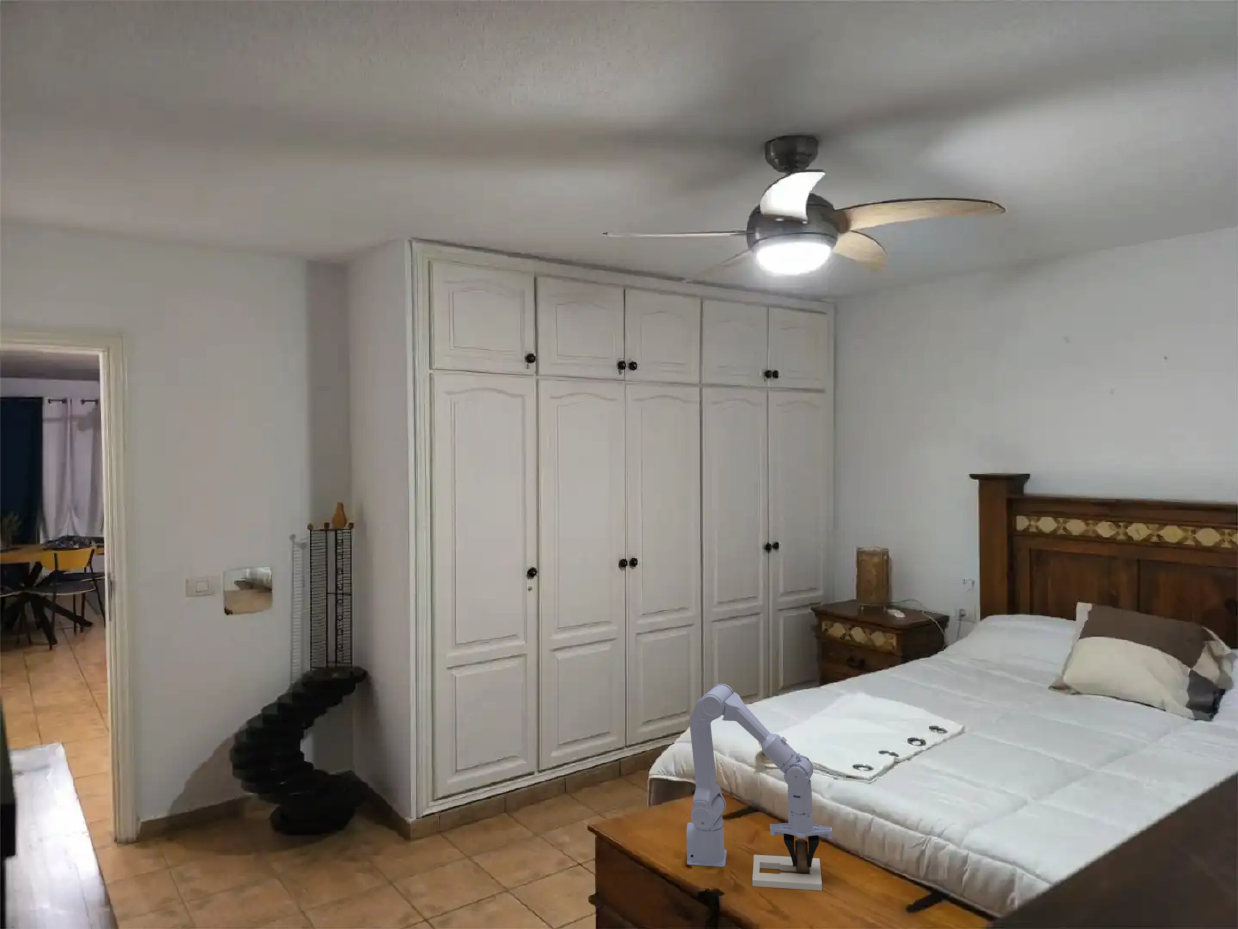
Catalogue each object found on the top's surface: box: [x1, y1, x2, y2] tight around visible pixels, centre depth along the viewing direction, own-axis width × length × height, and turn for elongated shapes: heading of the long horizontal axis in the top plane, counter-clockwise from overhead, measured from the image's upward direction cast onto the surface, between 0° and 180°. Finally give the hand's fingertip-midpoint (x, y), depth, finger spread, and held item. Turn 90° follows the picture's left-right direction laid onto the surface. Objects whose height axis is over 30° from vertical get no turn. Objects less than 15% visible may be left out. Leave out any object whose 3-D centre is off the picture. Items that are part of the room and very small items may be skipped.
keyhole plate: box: [752, 854, 823, 892], centre depth 202 cm, size 16×12×2 cm
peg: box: [794, 838, 810, 874], centre depth 202 cm, size 3×3×8 cm
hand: (802, 865), depth 201 cm, fingers closed on peg, 3 cm apart
